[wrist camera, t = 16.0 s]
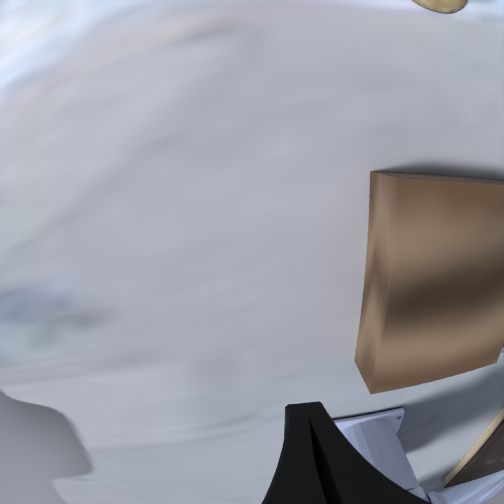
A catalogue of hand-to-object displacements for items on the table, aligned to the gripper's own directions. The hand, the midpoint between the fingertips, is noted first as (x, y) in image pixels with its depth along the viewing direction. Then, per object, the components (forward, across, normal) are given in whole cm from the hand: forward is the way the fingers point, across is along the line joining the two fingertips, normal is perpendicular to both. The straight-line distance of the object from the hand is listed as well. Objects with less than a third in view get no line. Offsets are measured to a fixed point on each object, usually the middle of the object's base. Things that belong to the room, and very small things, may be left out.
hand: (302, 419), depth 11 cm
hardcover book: (+11, -38, +28) cm, 49 cm away
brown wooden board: (+10, -12, -2) cm, 16 cm away
